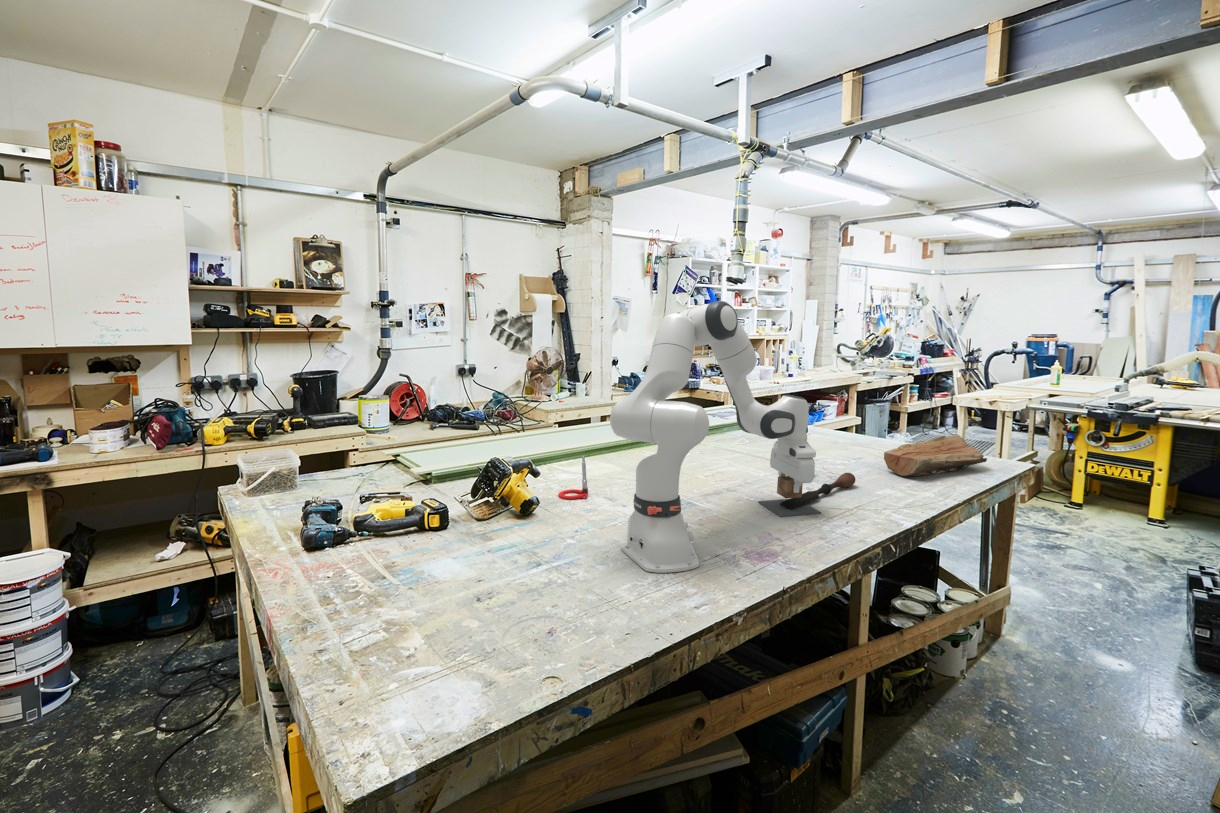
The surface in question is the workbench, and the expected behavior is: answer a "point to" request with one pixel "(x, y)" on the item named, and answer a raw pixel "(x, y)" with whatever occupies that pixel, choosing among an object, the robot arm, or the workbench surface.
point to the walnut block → (787, 487)
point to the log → (932, 456)
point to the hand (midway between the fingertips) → (789, 488)
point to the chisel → (820, 491)
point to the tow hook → (582, 493)
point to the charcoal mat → (784, 511)
